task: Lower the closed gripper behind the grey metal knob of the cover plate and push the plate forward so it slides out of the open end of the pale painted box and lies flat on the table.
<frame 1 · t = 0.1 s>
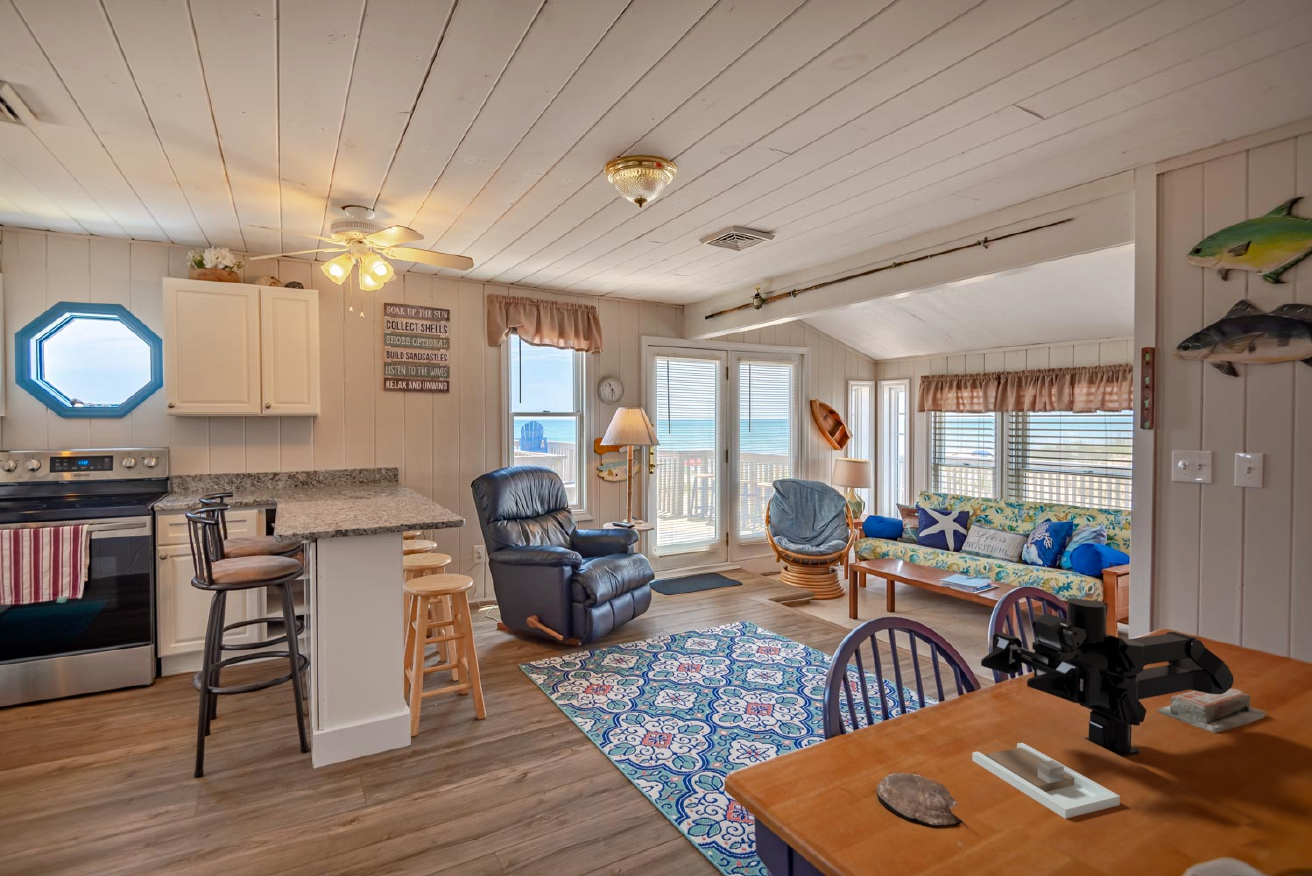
hand: (1003, 672, 110), 17 cm above the table, tool horizontal, fingers open, 9 cm apart
shell: (918, 806, 101), on the table
open box: (1041, 790, 104), on the table
packaged product: (1211, 718, 133), on the table
cover plate: (1028, 773, 107), point 1 cm above the table, touching open box
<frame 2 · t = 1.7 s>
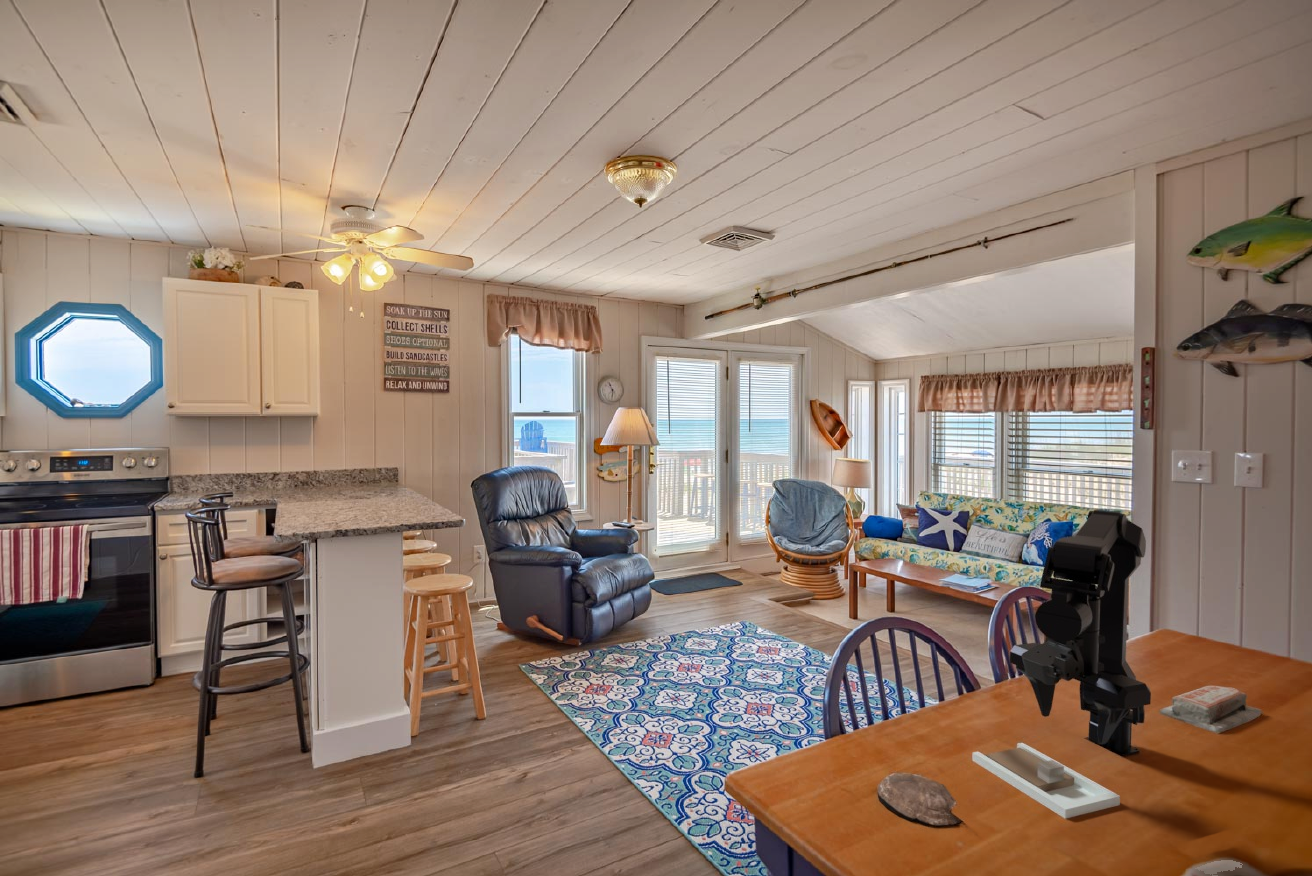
hand: (1072, 729, 99), 12 cm above the table, tool pointing down, fingers open, 9 cm apart
nothing on the table moved.
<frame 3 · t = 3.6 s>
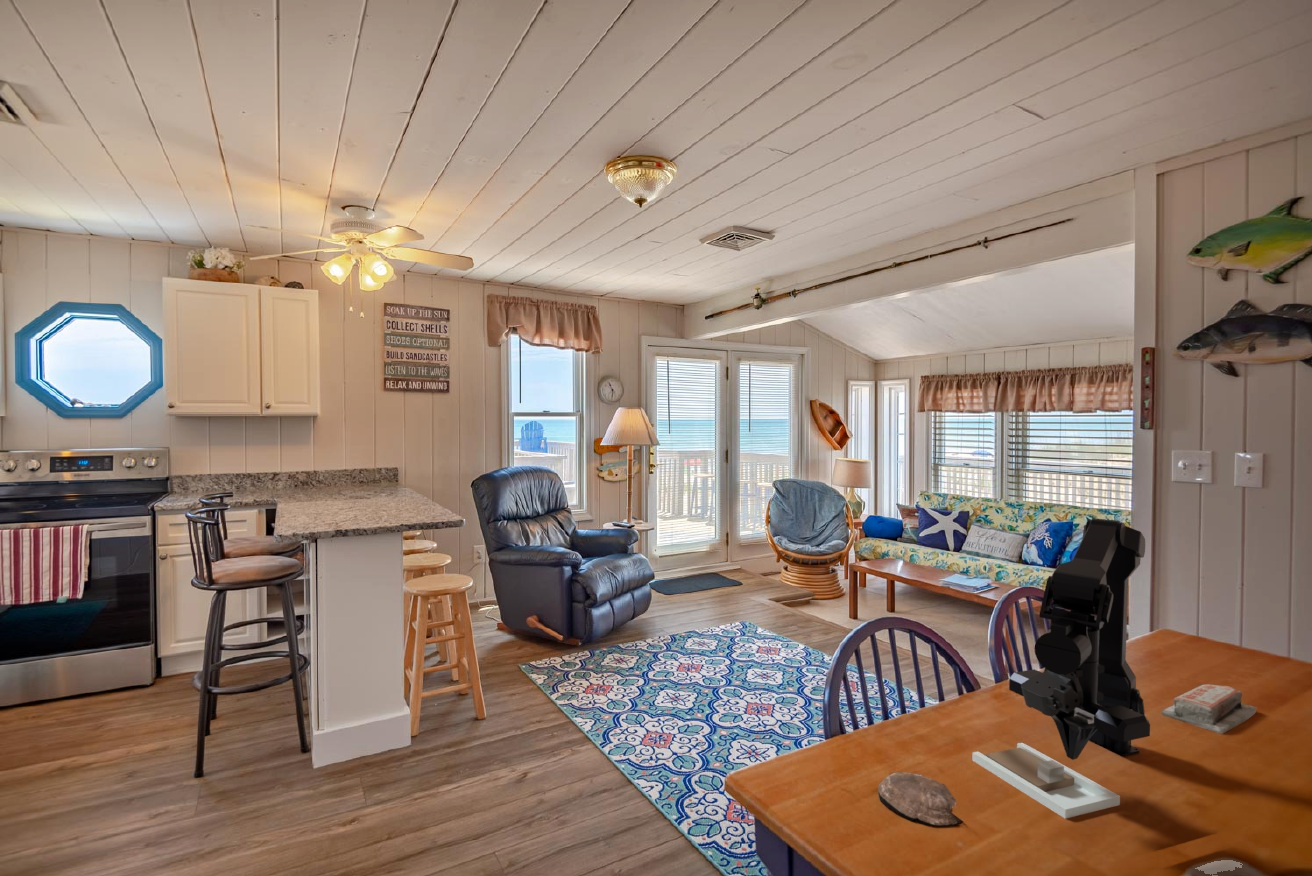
hand: (1072, 758, 100), 8 cm above the table, tool pointing down, fingers closed
nothing on the table moved.
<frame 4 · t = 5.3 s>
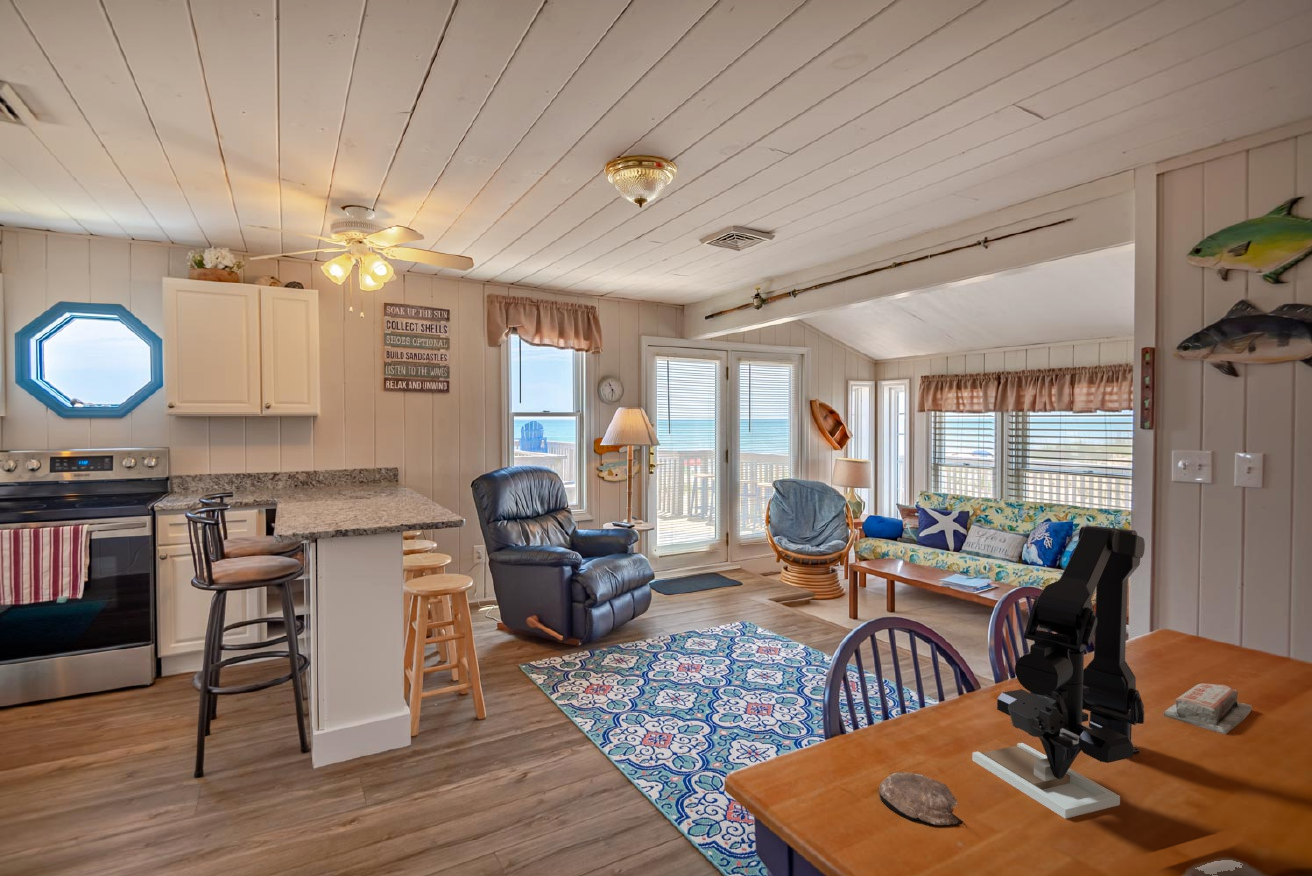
hand: (1058, 777, 102), 4 cm above the table, tool pointing down, fingers closed
cover plate: (1024, 771, 107), point 2 cm above the table, touching gripper
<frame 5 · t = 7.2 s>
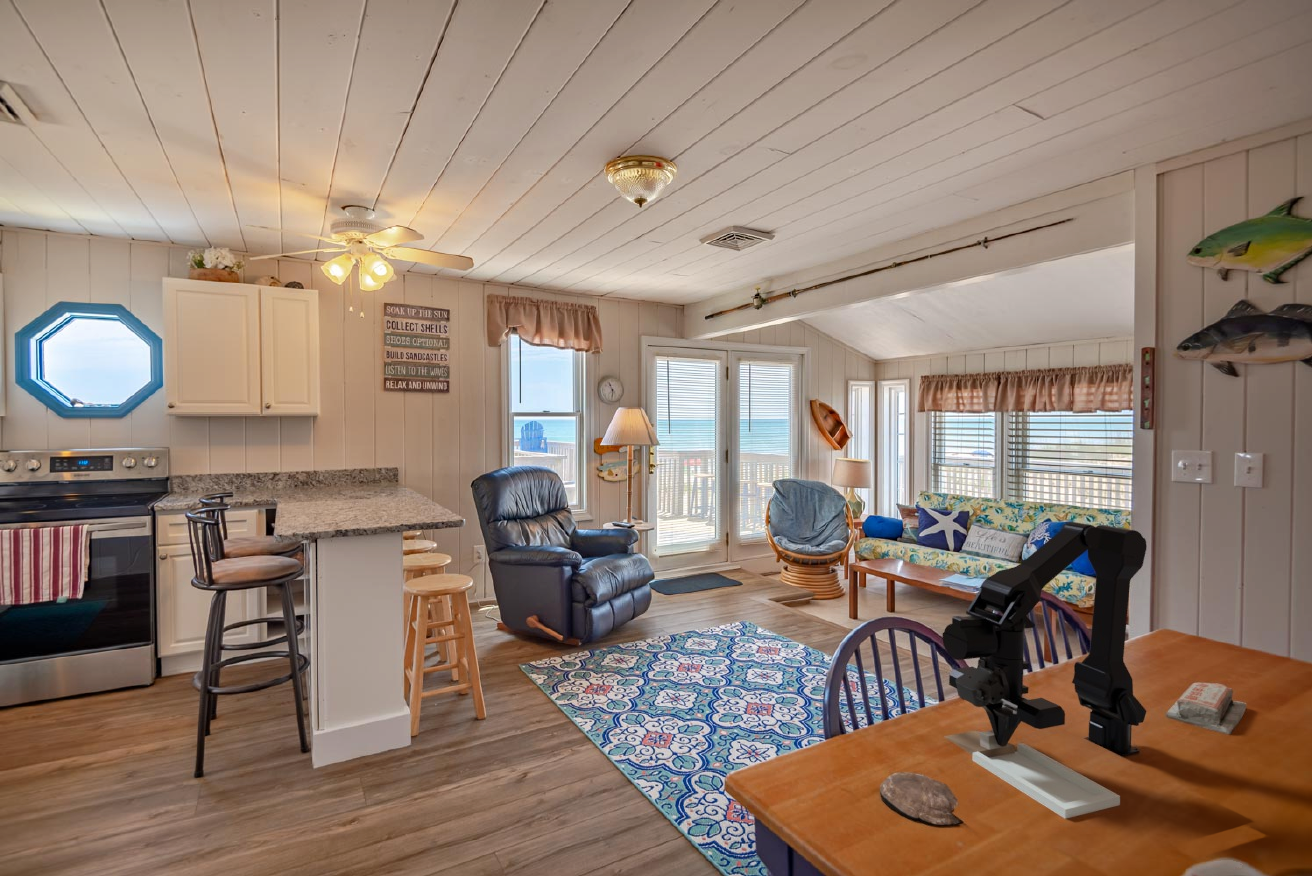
hand: (1001, 745, 112), 4 cm above the table, tool pointing down, fingers closed
cover plate: (974, 746, 117), point 1 cm above the table, tilted 9°, touching gripper
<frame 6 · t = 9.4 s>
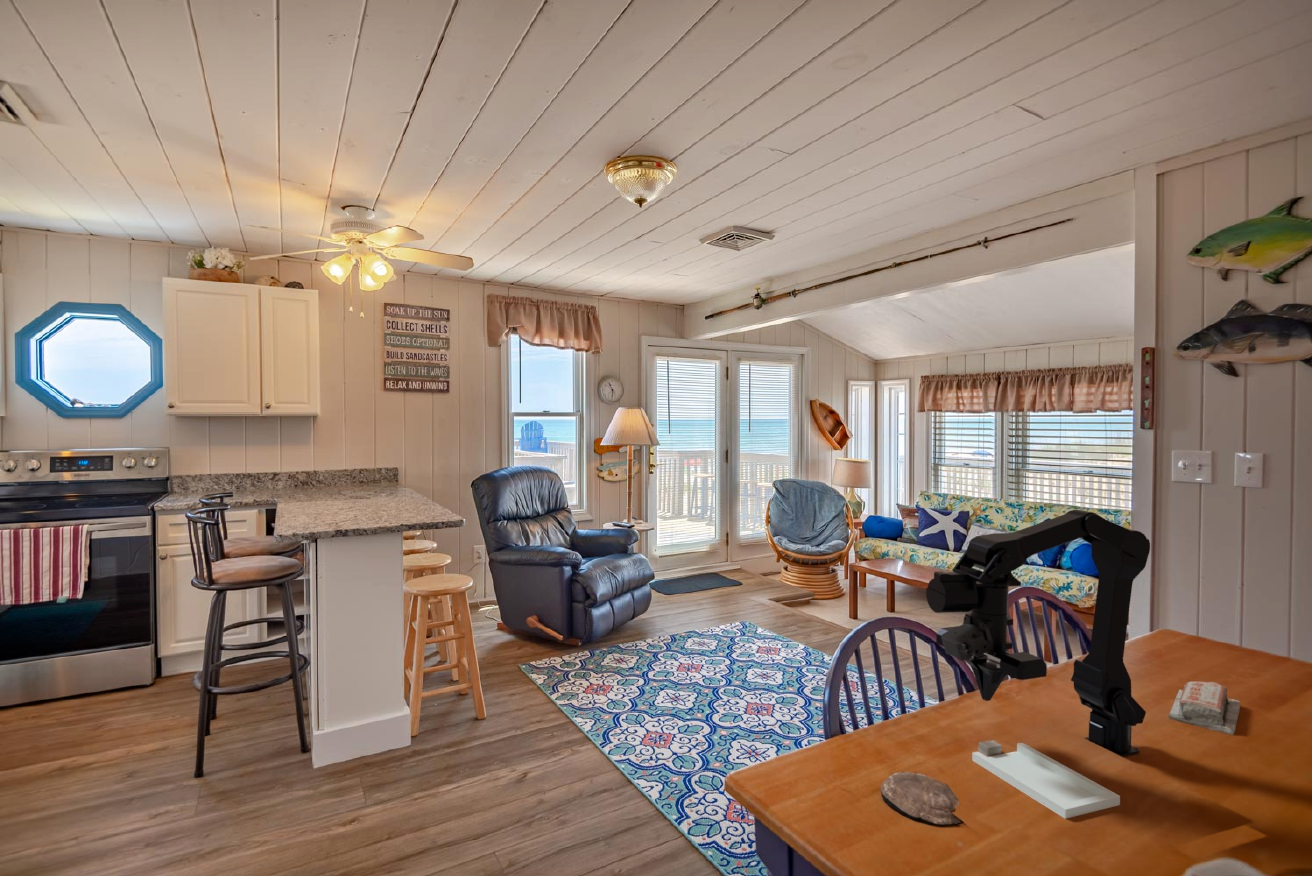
hand: (986, 700, 114), 10 cm above the table, tool pointing down, fingers closed
cover plate: (971, 752, 117), on the table
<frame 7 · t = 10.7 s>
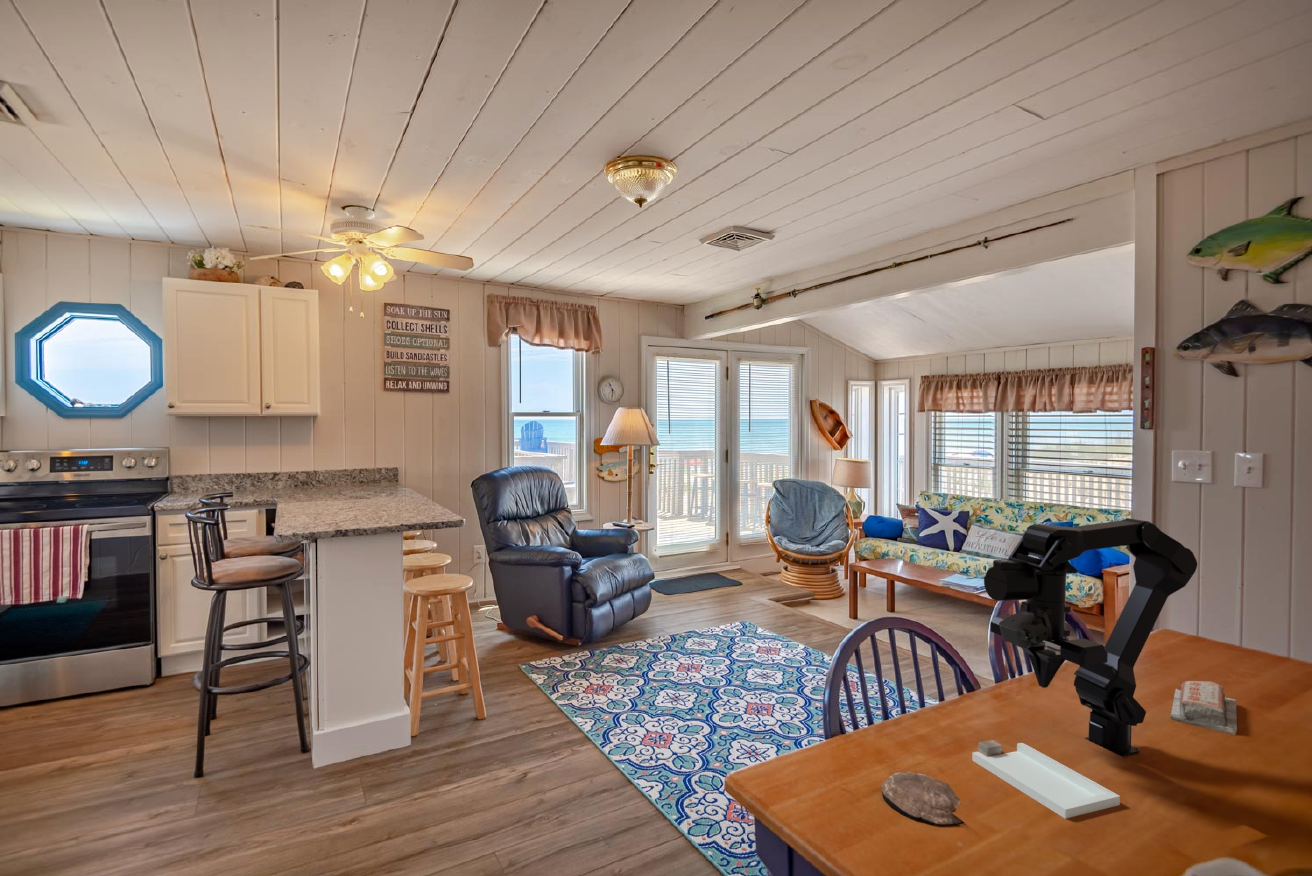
hand: (1043, 686, 115), 12 cm above the table, tool pointing down, fingers closed
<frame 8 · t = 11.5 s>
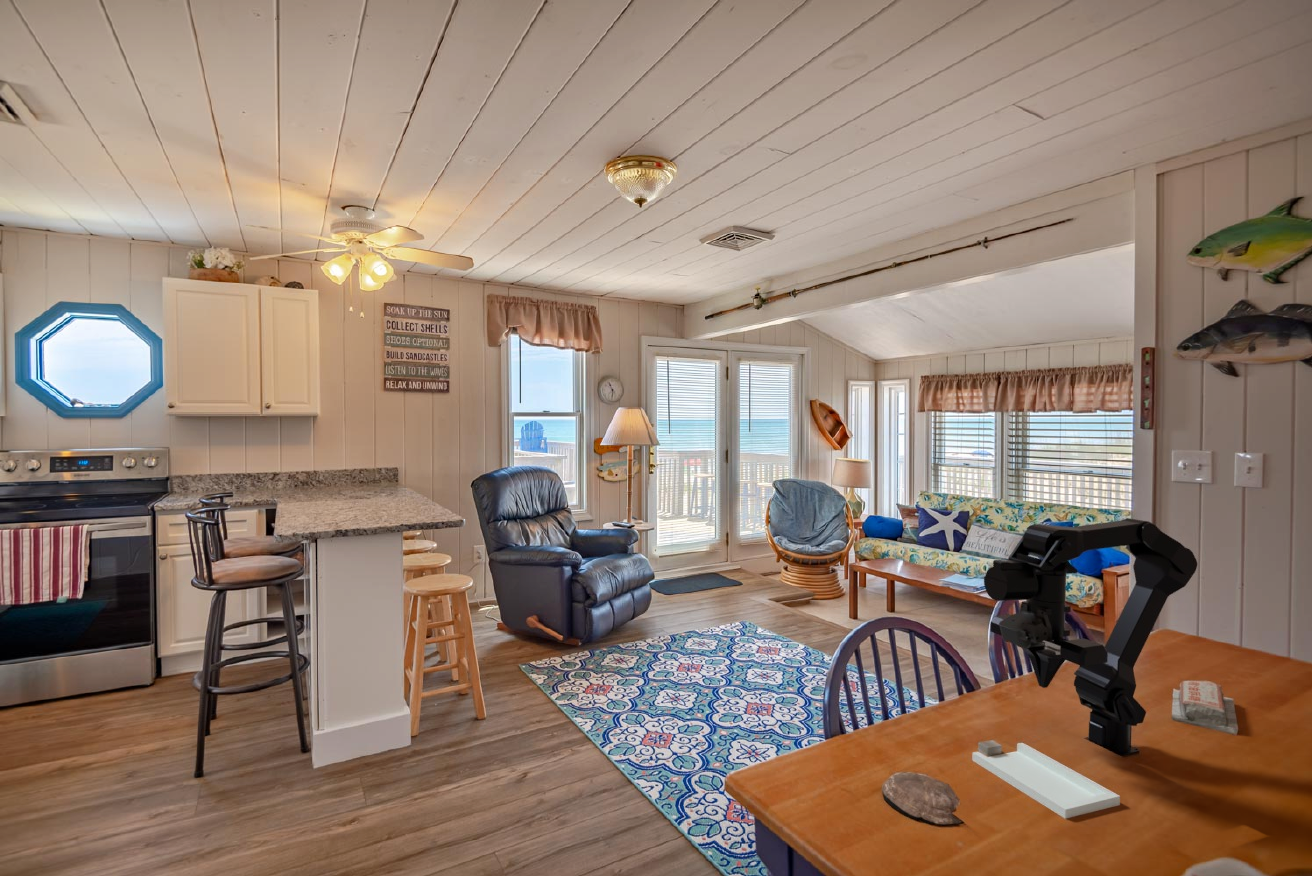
hand: (1043, 686, 115), 12 cm above the table, tool pointing down, fingers closed
at the end: cover plate inside the target area (3.2 cm from its centre), on the table; cover plate tilted 0°; cover plate touching table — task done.
